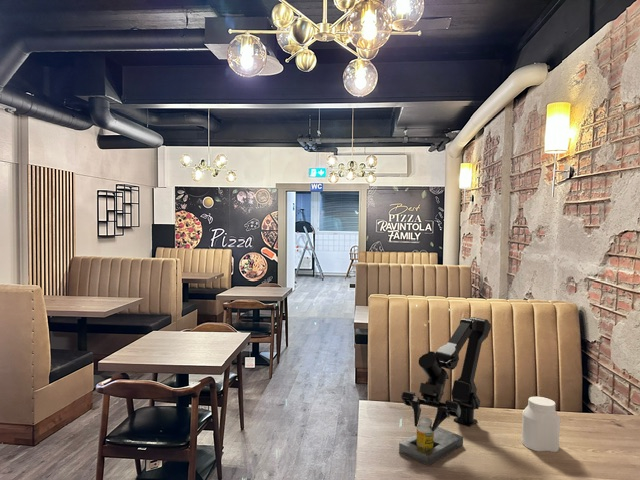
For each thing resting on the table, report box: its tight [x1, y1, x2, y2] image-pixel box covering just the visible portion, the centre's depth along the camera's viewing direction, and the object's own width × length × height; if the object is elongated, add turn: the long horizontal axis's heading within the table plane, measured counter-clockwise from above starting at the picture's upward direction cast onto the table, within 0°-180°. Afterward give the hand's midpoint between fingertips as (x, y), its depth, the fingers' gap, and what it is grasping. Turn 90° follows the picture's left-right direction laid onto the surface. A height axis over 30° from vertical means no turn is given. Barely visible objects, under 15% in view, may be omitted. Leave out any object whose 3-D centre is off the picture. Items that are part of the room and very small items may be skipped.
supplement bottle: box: [416, 417, 434, 451], centre depth 148 cm, size 5×5×10 cm
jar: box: [520, 396, 561, 453], centre depth 155 cm, size 12×10×15 cm
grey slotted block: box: [398, 426, 464, 466], centre depth 151 cm, size 20×11×3 cm, turn 132°
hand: (424, 428), depth 147 cm, fingers open, 5 cm apart
